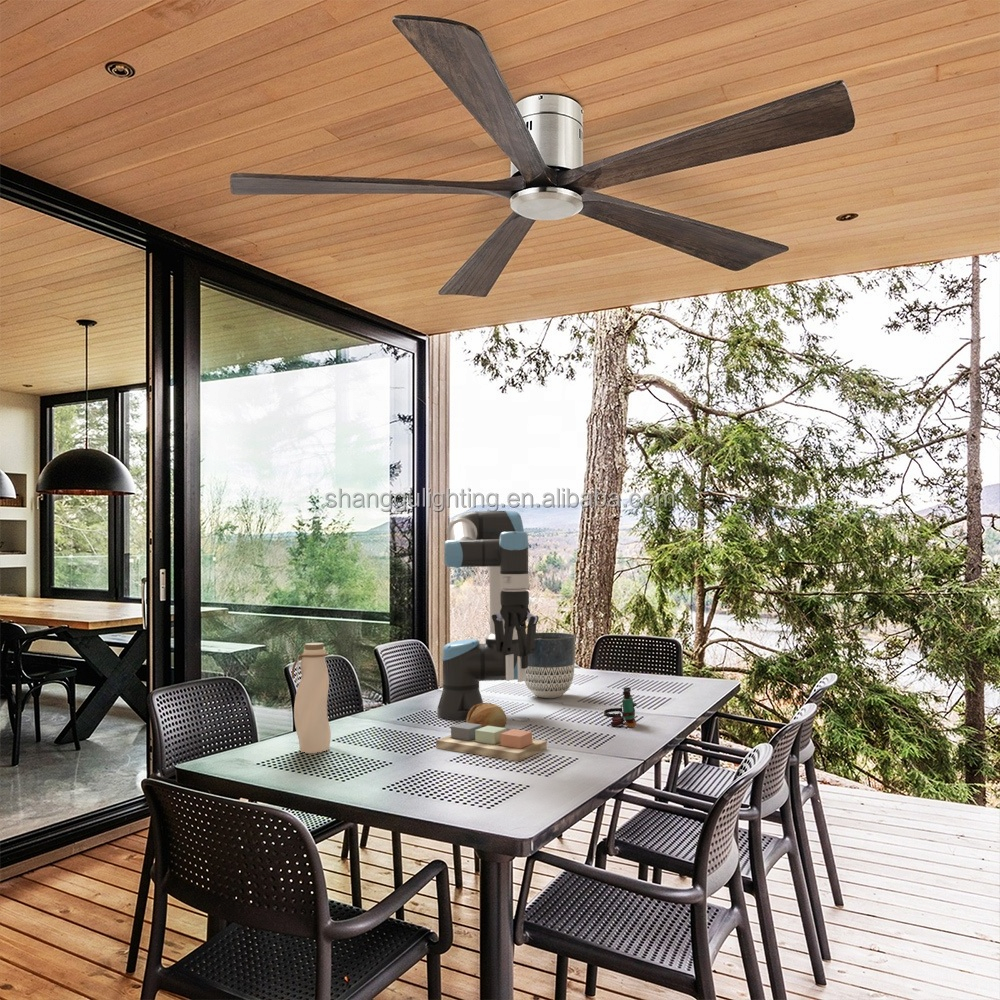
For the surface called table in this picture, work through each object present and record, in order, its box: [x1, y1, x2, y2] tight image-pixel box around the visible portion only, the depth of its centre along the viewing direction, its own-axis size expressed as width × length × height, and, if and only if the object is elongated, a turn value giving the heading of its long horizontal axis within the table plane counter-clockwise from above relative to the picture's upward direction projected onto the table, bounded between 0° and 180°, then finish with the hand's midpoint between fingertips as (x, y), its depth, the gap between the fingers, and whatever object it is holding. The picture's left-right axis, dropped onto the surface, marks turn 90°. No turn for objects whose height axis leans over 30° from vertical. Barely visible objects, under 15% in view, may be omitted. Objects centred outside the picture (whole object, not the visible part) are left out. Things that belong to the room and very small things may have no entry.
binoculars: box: [603, 686, 638, 728], centre depth 237 cm, size 9×11×10 cm
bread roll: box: [465, 702, 508, 728], centre depth 231 cm, size 10×15×8 cm, turn 146°
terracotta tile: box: [501, 728, 533, 749], centre depth 207 cm, size 6×6×3 cm
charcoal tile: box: [450, 721, 482, 741], centre depth 216 cm, size 6×6×3 cm
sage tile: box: [475, 726, 508, 745], centre depth 212 cm, size 6×6×3 cm
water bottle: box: [291, 642, 332, 754], centre depth 213 cm, size 10×9×28 cm
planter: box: [524, 632, 576, 699], centre depth 281 cm, size 20×20×21 cm
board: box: [435, 734, 548, 762], centre depth 212 cm, size 26×14×2 cm, turn 57°
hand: (515, 680), depth 208 cm, fingers open, 3 cm apart
